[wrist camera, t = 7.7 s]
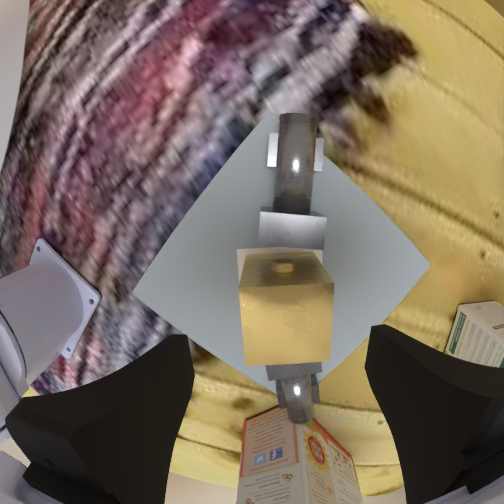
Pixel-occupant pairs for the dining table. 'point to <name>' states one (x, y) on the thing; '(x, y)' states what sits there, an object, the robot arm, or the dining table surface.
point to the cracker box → (293, 464)
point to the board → (246, 242)
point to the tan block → (285, 309)
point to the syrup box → (478, 334)
